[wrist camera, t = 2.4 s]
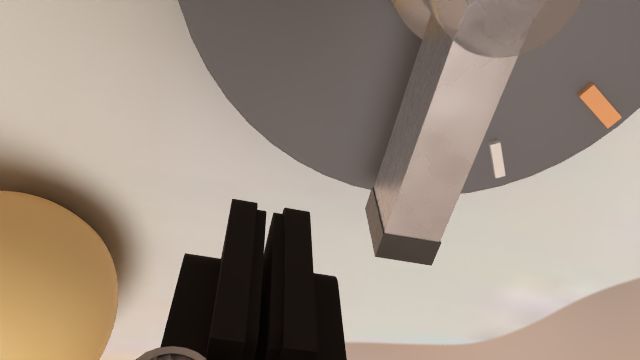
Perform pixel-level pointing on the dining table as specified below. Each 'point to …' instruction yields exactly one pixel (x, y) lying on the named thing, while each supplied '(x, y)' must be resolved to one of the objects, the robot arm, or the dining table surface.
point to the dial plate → (393, 76)
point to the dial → (449, 111)
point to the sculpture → (52, 283)
